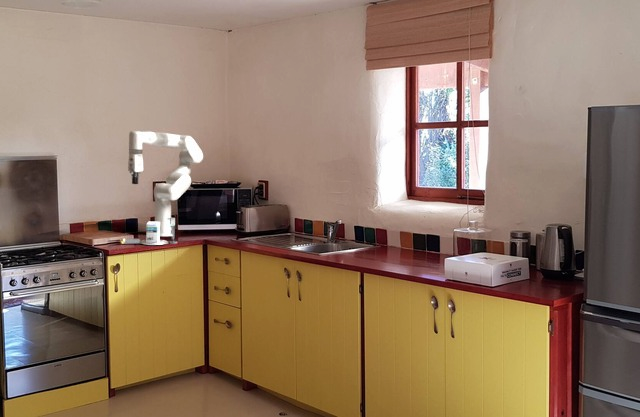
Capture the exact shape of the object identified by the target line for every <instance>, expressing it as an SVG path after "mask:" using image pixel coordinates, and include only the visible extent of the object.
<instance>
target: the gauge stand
mask: <svg viewBox="0 0 640 417" xmlns="http://www.w3.org/2000/svg"><path fill="white" fill-rule="evenodd" d="M167 225H169V226H171V227H172V230H171V233H172V236H171V240H170V241H168V244H169V243H170V245H176V244H178V241H177V240H175V226H176V218H175V217H171V218H169V217H168V218H167Z"/></svg>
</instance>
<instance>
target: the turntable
mask: <svg viewBox="0 0 640 417" xmlns="http://www.w3.org/2000/svg"><path fill="white" fill-rule="evenodd" d="M140 239H141V238H120V244H122V245H127V244H128V245H129V244H142V245H146V246H147V245H148V246H160V245H168V244H169V241H167V240H165V239H160V241H159V242H158V243H146V239H141V240H140Z"/></svg>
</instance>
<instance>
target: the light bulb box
mask: <svg viewBox="0 0 640 417" xmlns="http://www.w3.org/2000/svg"><path fill="white" fill-rule="evenodd" d="M145 231H146V232H145V233H146V237H145V238H146V239H145V240H146V243H158V242H159V241H160V240H161V238H160V237H161V236H160V222H155V221H148V222H147V223H146V230H145Z"/></svg>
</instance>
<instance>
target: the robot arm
mask: <svg viewBox="0 0 640 417" xmlns="http://www.w3.org/2000/svg"><path fill="white" fill-rule="evenodd" d="M143 145H149V146H155V147H162V148H168V149H169V148H170V149H177V150H180V152H179V153H178V154H179V156H178V159H179V160H178V161H179V162H178V166H177V167H176V168H175V169H174V170H173V171H172V172H171V173H170V174H169V175H168V176H167V178H166V183H164V182H162V183H158V184H156V185H155V186H154V187H153V188H154V189H153V196H154V197H153V198H154V222H160V237H172V226H169V225H167V218H168V217H169V218H172V205H171V204H172V203H171V201H176V200H179V198H181V196H182V195H183V194H184V193H185V192H186V191H187V190H188V189H189V188H190V187H191V185H192V184H191V183H192V179H191V176H190V174H191V171H192V167H191V164H200V163H201V162H202V161H203V159H204V154H203V151H202V149H201V148H200V146H199V145H198V143H197V142H196V140H195V139H194V138H193V137H192V136H191V135H185V134H175V133H167V132H154V131H150V130H130V131H129V135H128V166H127V169H128V172H129V175H131V184H132V185H138V184H139V177H140V174H141V173H142V172H143V171H144V158H143Z"/></svg>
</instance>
